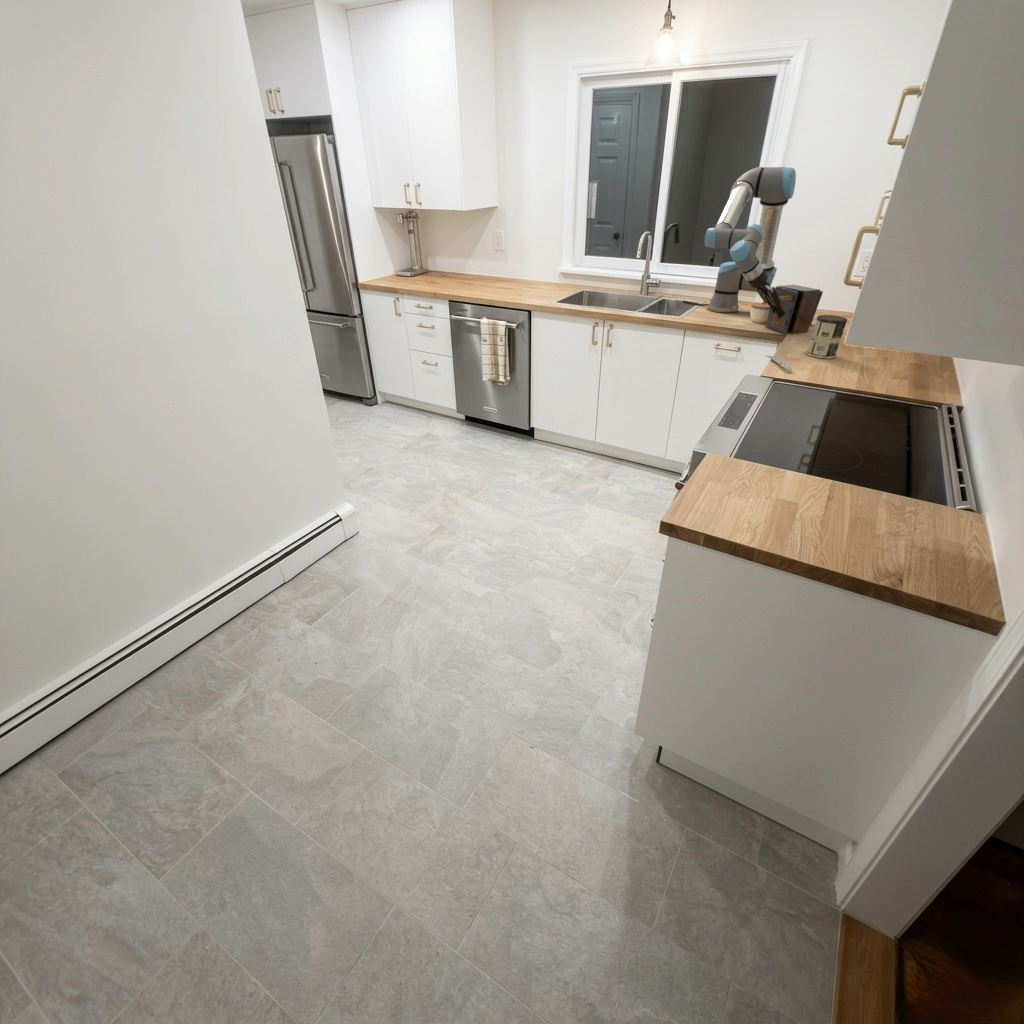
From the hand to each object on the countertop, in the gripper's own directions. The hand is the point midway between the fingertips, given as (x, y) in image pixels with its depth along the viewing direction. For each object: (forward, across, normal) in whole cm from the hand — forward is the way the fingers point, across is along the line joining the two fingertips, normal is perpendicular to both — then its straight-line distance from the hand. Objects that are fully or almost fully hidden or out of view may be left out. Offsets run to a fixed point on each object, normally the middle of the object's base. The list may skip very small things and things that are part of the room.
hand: (780, 315), depth 234 cm
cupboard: (+13, +7, -1) cm, 15 cm away
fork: (-13, -43, +24) cm, 51 cm away
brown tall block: (+24, +16, -12) cm, 31 cm away
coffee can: (+5, -33, +7) cm, 34 cm away
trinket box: (+10, +23, +2) cm, 26 cm away
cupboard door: (+6, +5, +6) cm, 9 cm away
